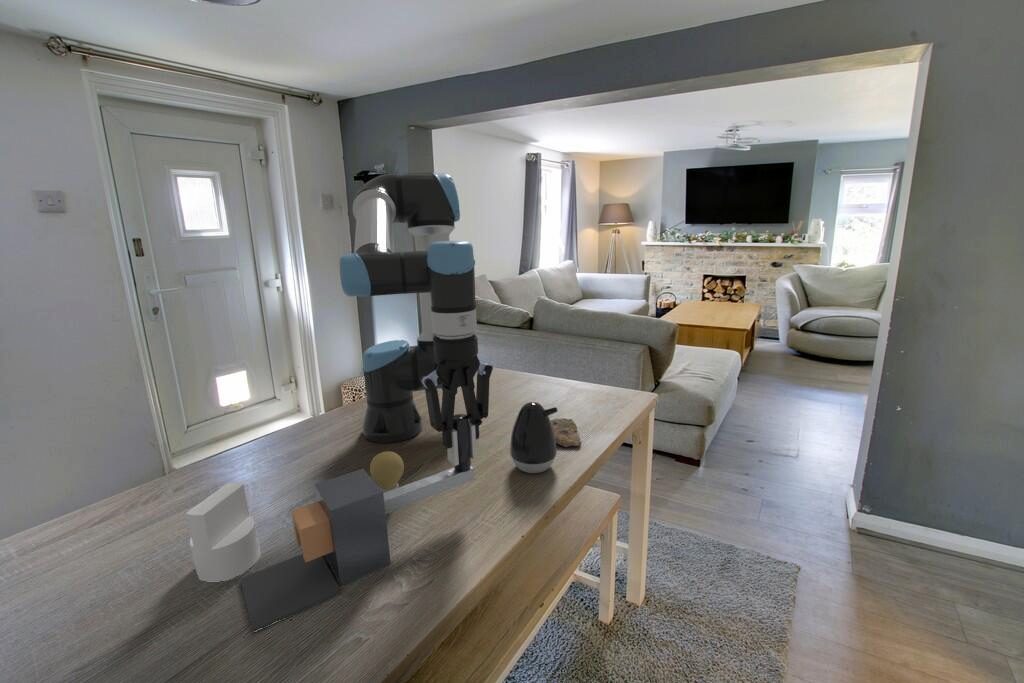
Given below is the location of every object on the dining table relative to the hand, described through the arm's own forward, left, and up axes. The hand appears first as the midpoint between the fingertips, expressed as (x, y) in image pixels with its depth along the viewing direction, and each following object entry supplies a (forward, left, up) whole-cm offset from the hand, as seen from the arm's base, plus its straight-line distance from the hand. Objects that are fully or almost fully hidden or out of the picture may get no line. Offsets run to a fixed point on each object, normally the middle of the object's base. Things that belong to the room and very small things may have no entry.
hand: (462, 458), depth 87 cm
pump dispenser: (-5, +20, -11) cm, 24 cm away
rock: (-11, +35, -12) cm, 38 cm away
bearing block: (0, -21, -11) cm, 23 cm away
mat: (0, -31, -11) cm, 33 cm away
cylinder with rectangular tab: (-12, -38, -11) cm, 41 cm away
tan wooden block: (0, -27, -6) cm, 27 cm away
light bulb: (-13, -10, -11) cm, 20 cm away
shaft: (0, -13, -4) cm, 14 cm away
